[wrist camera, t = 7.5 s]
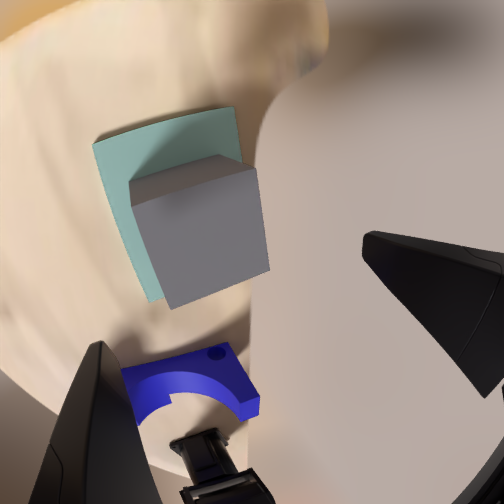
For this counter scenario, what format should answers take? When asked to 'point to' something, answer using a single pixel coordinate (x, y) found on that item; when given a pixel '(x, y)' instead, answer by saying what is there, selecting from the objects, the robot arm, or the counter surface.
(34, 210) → the counter surface
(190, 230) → the gray cube block
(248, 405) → the blue arched bracket
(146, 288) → the teal board
